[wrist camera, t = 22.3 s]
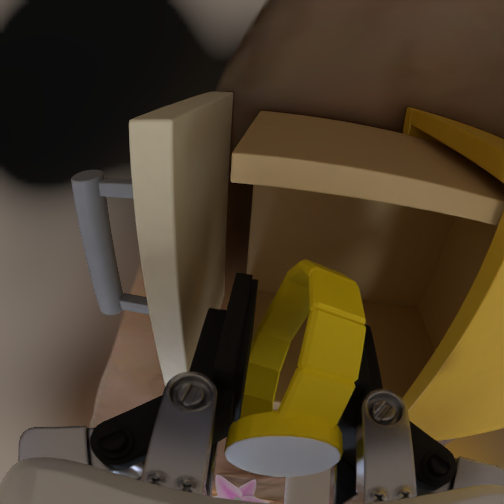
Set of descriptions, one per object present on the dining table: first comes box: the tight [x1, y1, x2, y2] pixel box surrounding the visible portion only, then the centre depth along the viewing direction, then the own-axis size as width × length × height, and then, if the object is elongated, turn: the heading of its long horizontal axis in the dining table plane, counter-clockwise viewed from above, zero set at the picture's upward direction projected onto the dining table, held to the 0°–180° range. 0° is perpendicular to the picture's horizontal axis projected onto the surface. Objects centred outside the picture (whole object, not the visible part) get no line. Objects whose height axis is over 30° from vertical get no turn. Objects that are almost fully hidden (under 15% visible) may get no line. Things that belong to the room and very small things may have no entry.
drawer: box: [71, 91, 504, 410], centre depth 14 cm, size 19×13×9 cm, turn 86°
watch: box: [224, 259, 366, 477], centre depth 9 cm, size 6×3×6 cm, turn 160°
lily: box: [213, 475, 268, 503], centre depth 44 cm, size 12×12×10 cm
